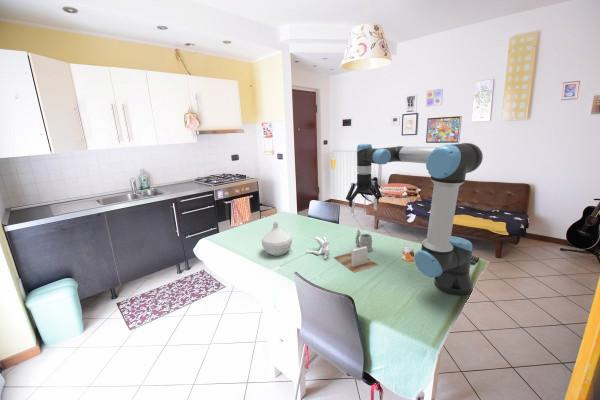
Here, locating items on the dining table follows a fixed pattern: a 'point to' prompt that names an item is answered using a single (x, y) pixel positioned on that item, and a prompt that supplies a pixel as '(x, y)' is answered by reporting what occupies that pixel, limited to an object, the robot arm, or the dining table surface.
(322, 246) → the person figurine
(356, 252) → the tile
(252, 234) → the dining table surface
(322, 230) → the dining table surface
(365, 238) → the mug
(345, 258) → the board
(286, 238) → the vase
